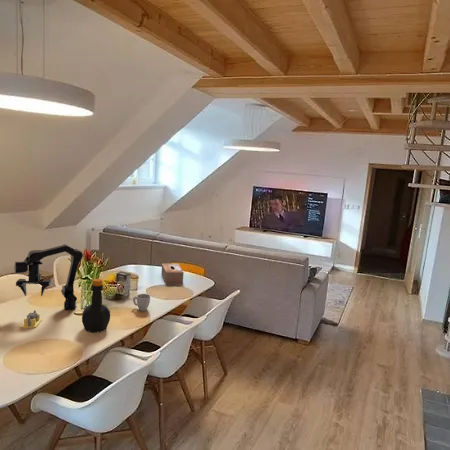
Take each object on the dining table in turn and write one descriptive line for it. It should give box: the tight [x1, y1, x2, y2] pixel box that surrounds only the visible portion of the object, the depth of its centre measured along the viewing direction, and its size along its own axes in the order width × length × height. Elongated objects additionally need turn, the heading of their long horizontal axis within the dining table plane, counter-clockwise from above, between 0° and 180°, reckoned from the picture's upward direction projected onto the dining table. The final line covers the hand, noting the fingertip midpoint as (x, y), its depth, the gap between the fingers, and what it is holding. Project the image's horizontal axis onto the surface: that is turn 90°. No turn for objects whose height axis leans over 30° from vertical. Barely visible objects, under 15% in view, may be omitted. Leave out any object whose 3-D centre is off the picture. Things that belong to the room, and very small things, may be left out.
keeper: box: [20, 310, 43, 329], centre depth 223 cm, size 8×11×6 cm
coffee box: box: [115, 270, 132, 297], centre depth 283 cm, size 9×6×16 cm
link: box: [26, 312, 38, 321], centre depth 223 cm, size 4×5×5 cm
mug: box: [132, 293, 151, 312], centre depth 258 cm, size 12×9×10 cm
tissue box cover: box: [161, 263, 185, 285], centre depth 329 cm, size 26×14×10 cm, turn 17°
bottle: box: [81, 278, 111, 334], centre depth 223 cm, size 16×16×30 cm
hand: (33, 295), depth 235 cm, fingers open, 9 cm apart
